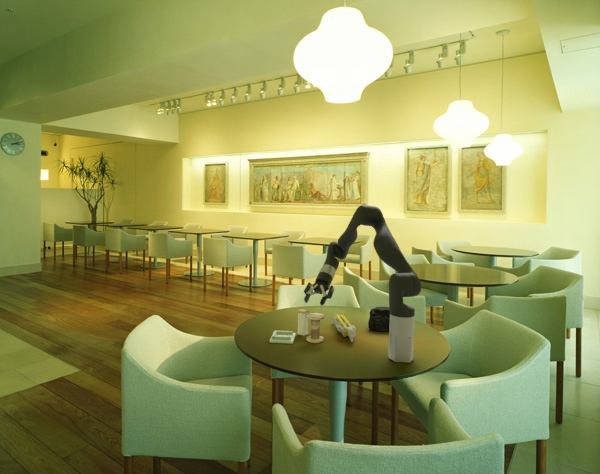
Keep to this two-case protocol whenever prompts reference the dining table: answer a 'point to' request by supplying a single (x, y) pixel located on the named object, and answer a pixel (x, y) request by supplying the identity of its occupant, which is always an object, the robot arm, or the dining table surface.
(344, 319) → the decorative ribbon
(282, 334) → the ridged board
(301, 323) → the block
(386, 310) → the rock
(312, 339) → the bobbin
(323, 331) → the dining table surface
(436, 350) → the dining table surface
